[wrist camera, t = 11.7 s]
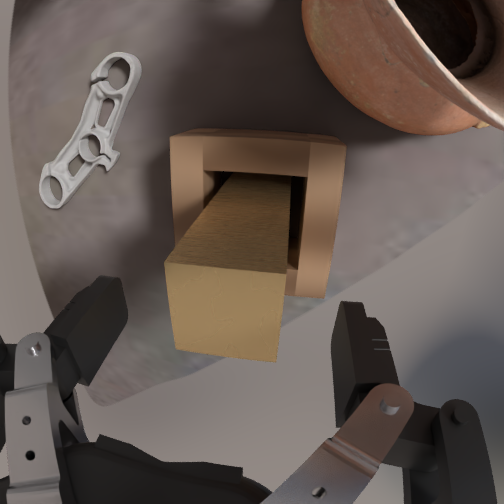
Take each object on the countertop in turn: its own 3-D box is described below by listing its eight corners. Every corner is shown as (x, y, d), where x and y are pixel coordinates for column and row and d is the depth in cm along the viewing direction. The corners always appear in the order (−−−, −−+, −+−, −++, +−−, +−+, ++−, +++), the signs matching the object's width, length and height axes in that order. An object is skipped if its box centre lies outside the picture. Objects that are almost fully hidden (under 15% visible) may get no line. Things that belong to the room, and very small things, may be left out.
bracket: (17, 159, 23) (118, 42, 17) (30, 154, 24) (130, 45, 19) (55, 221, 25) (169, 118, 20) (66, 213, 27) (179, 116, 22)
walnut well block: (194, 128, 22) (169, 136, 17) (335, 136, 21) (346, 146, 16) (197, 251, 26) (178, 283, 22) (320, 262, 25) (324, 298, 21)
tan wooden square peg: (236, 169, 23) (164, 262, 10) (291, 173, 22) (286, 274, 10) (235, 219, 24) (176, 348, 12) (287, 224, 24) (276, 362, 12)
